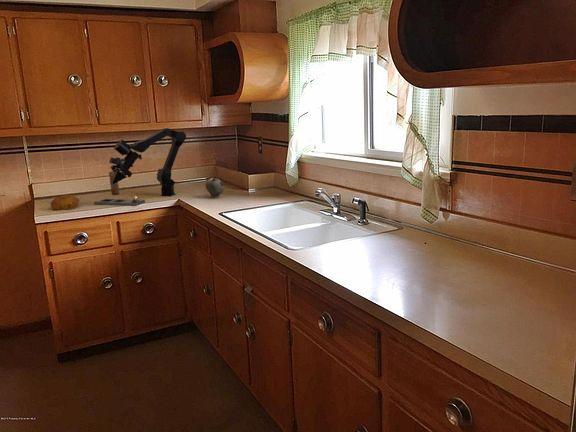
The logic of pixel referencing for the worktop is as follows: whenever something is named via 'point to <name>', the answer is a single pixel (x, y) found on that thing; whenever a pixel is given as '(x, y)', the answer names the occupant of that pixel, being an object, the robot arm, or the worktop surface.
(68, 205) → the bread loaf
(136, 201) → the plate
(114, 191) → the dowel
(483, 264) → the worktop surface
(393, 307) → the worktop surface
